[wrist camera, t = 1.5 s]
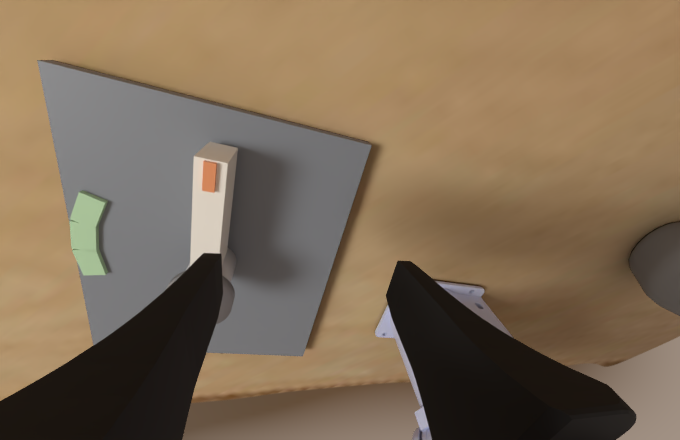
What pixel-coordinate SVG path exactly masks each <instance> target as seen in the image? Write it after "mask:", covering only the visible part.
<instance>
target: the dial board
mask: <svg viewBox="0 0 680 440" xmlns="http://www.w3.org/2000/svg"><path fill="white" fill-rule="evenodd" d="M37 61H38V66H39V71H40V76H41V81H42V86H43V91H44V96H45V101H46V106H47V111H48V116H49V121H50V127H51V132H52V137H53V142H54V147H55V152H56V157H57V162H58V167H59V172H60V177H61V182H62V187H63V193H64V198H65V203H66V208H67V213H68V218H69V223H70V234H71V248H72V249H73V250H72V251H73V254H74V256H75V258H76V260H77V264H78V269H79V274H80V279H81V284H82V289H83V294H84V299H85V304H86V309H87V314H88V319H89V324H90V330H91V335H92V340H93V345H95V344H97V343H98V342H100V341H101V340H103V339H104V338H106V337H107V336H108V335H110V334H111V333H113V332H114V331H115V330H117V329H118V328H119V327H121V326H122V325H124V324H125V323H126V322H127V321H129V320H130V319H131V318H133V317H134V316H135V315H136V314H138V313H139V312H140V311H141V310H143V309H144V308H145V307H146V306H147V305H149V304H150V303H151V302H152V301H153V300H155V299H156V298H157V297H158V296H159V295H160V294H162V293H163V292H164V291H165V290H166V288H167V286H168V284H169V283H170V281H171V280H172V278H173V277H175V276H176V275H177V274H179V273H181V272H183V271H186V269H187V267H188V265H189V263H190V251H191V221H192V191H193V161H194V155H195V154H197V153H198V152H199V151H200V150H201V149H202V148H203V147H204V146H205V145H206V144H208V143H209V142H214V143H218V144H223V145H227V146H232V147H236V148H238V153H237V163H236V172H235V181H234V191H233V200H232V210H231V219H230V228H229V238H228V248H229V249H230V250H232V252H233V253H234V254H235V256H236V266H235V270H234V273H233V276H232V280H231V284H232V286H233V287H234V291H235V298H234V302H233V306H232V309H231V312H230V314H229V316H228V317H227V318H226V319H225V320H224V321H222V322H220V323H218V324H216V326H215V329H214V332H213V335H212V338H211V340H210V343H209V346H208V349H207V353H233V354H258V355H284V356H303V354H304V351H305V348H306V345H307V342H308V339H309V336H310V333H311V330H312V327H313V324H314V321H315V317H316V314H317V311H318V308H319V305H320V302H321V299H322V296H323V293H324V290H325V287H326V284H327V281H328V278H329V275H330V271H331V268H332V265H333V262H334V259H335V256H336V253H337V250H338V247H339V244H340V241H341V238H342V235H343V232H344V229H345V225H346V222H347V219H348V216H349V213H350V210H351V207H352V204H353V201H354V198H355V195H356V192H357V189H358V186H359V183H360V180H361V176H362V173H363V170H364V167H365V164H366V161H367V158H368V155H369V152H370V149H371V146H372V145H371V144H370V143H369V142H367V141H363V140H359V139H355V138H351V137H347V136H343V135H340V134H336V133H332V132H328V131H324V130H320V129H316V128H312V127H309V126H305V125H301V124H297V123H293V122H289V121H285V120H282V119H278V118H274V117H270V116H266V115H262V114H258V113H254V112H251V111H247V110H243V109H239V108H235V107H231V106H227V105H224V104H220V103H216V102H212V101H208V100H204V99H200V98H196V97H193V96H189V95H185V94H181V93H177V92H173V91H169V90H165V89H162V88H158V87H154V86H150V85H146V84H142V83H138V82H135V81H131V80H127V79H123V78H119V77H115V76H111V75H107V74H104V73H100V72H96V71H92V70H88V69H84V68H80V67H77V66H73V65H69V64H65V63H61V62H57V61H53V60H37Z"/></svg>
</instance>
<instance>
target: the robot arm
mask: <svg viewBox="0 0 680 440" xmlns="http://www.w3.org/2000/svg"><path fill="white" fill-rule="evenodd" d="M483 294H484V289H483V288H482V287H480V286H472V285H464V284H456V283H449V282H441V281H434V280H433V279H432V278H431V277H429V276H428V275H427V274H426V273H425V272H424V271H422V270H421V269H420V268H419V267H417V266H416V265H415V264H414V263H412V262H411V261H398V262H397V265H396V267H395V270H394V273H393V276H392V279H391V282H390V285H389V288H388V291H387V294H386V298H387V302H388V305H387V307H386V310H385V312H384V314H383V316H382V318H381V320H380V322H379V324H378V326H377V328H376V330H375V334H376V336H377V337H386V338H395V340H396V343H397V345H398V348H399V351H400V353H401V356H402V359H403V362H404V364H405V367H406V370H407V372H408V375H409V378H410V380H411V383H412V385H413V389H414V391H415V394H416V397H417V399H418V402H419V405H420V407H421V408H420V409H419V410H417V411H416V412H415V415H416V418H417V421H418V424H419V428H417V429H416V430H415V431H414V433H413V438H412V440H616V439H617V438H619V437H620V436H621V435H623V434H624V433H625V432H626V431H628V430H629V429H630V428H631V427H632V426H633V425H634V423H635V421H636V414H635V412H634V411H633V410H632V409H631V408H630V407H629V406H628V405H627V404H626V403H625V402H624V401H623V400H622V399H621V398H620V397H619V396H618V395H617V394H616V393H615V392H614V391H613V389H612V388H610V387H609V386H608V385H607V384H604V383H602V382H600V381H598V380H595V379H593V378H591V377H588V376H587V375H584V374H582V373H580V372H577V371H575V370H573V369H571V368H568V367H567V366H565V365H562V364H561V363H559V362H557V361H555V360H553V359H551V358H549V357H547V356H545V355H543V354H541V353H539V352H537V351H535V350H533V349H532V348H530V347H528V346H526V345H524V344H523V343H521V342H519V341H518V340H516V339H514V338H513V336H512V335H511V334H510V333H509V331H508V330H507V329H506V328H505V326H504V325H503V324H502V323H501V321H500V320H499V319H498V318H497V317H496V315H495V314H494V313H493V312H492V310H491V309H490V308H489V307H488V305H487V304H486V303H485V302H484V300H483V299H482V298H481V296H482V295H483ZM222 297H223V278H222V255H221V254H218V253H203V254H202V255H201V256H200V257H199V258H198V259H197V260H196V261H195V262H194V263H193V264H192V265H191V266H190V267H189V268H188V269H187V270H186V271H185V272H184V273H183V274H182V275H181V276H180V277H179V278H178V279H177V280H176V281H175V282H173V283H172V284H171V285H170V286H169V287H168V288H167V289H166V290H165V291H164V292H163V293H162V294H160V295H159V296H158V297H157V298H156V299H155V300H153V301H152V302H151V303H150V304H149V305H147V306H146V307H145V308H144V309H143V310H141V311H140V312H139V313H138V314H136V315H135V316H134V317H133V318H131V319H130V320H129V321H127V322H126V323H125V324H124V325H122V326H121V327H119V328H118V329H117V330H115V331H114V332H113V333H111V334H110V335H108V336H107V337H106V338H104V339H103V340H101V341H100V342H98V343H97V344H95V345H94V346H92V347H91V348H89V349H87V350H86V351H84V352H83V353H81V354H80V355H78V356H77V357H75V358H74V359H72V360H71V361H69V362H67V363H66V364H64V365H63V366H61V367H59V368H58V369H56V370H54V371H52V372H51V373H49V374H47V375H46V376H44V377H42V378H41V379H39V380H37V381H35V382H34V383H32V384H30V385H28V386H27V387H25V388H23V389H21V390H20V391H18V392H16V393H14V394H13V395H11V396H9V397H7V398H5V399H3V400H2V401H0V440H182V437H183V433H184V429H185V425H186V421H187V416H188V412H189V408H190V404H191V400H192V396H193V392H194V388H195V385H196V382H197V378H198V375H199V372H200V369H201V367H202V364H203V361H204V358H205V355H206V352H207V349H208V346H209V343H210V340H211V338H212V335H213V332H214V329H215V326H216V323H217V320H218V316H219V311H220V307H221V302H222Z"/></svg>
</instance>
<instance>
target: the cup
mask: <svg viewBox="0 0 680 440" xmlns="http://www.w3.org/2000/svg"><path fill="white" fill-rule="evenodd" d="M629 265H630V269H631V271H632V273H633V274H634V276H635V278H636V279H637V281H638V282H639V284H640V286H641V287H642V289H643V291H644V292H645V293H646V295H647V296H648V297H649V298H651V299H652V300H653V301H654V302H655V303H657V304H658V305H659V306H661V307H663V308H665V309H667V310H669V311H671V312H673V313H675V314H677V315H679V316H680V222H676V223H670V224H667V225H664V226H662V227H660V228H657V229H656V230H654V231H653V232H651V233H650V234H648V235H647V236H645V237H644V238H643V239H642V240H641V241H640V242H639V243H638V244H637V246H636V247H635V248H634V250H633V251H632V253H631V256H630V258H629Z"/></svg>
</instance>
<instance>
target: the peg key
mask: <svg viewBox="0 0 680 440" xmlns="http://www.w3.org/2000/svg"><path fill="white" fill-rule="evenodd" d="M237 153H238V148H236V147H232V146H227V145H223V144H218V143H214V142H209V143H208V144H206V145H205V146H204V147H203V148H202V149H201V150H200V151H199V152H198V153H197V154H195V155H194V161H193V191H192V221H191V251H190V263H189V265H188V267H187V269H188V268H189V267H190V266H191V265H192V264H193V263H194V262H195V261H196V260H197V259H198V258H199V257H200V256H201V255H202V254H203V253H218V254H221V255H222V278H223V297H222V302H221V307H220V311H219V316H218V320H217V323H216V324H218V323H220V322H222V321H224V320H225V319H226V318H227V317H228V316H229V314H230V312H231V309H232V306H233V302H234V298H235V291H234V287H233V286H232V284H231V280H232V276H233V273H234V270H235V266H236V256H235V254H234V253H233V252H232V250H230V249H229V248H228V238H229V228H230V219H231V210H232V200H233V191H234V181H235V172H236V163H237ZM187 269H186V270H187ZM184 272H185V271H183V272H181V273H179V274H177V275H176V276H175V277H173V278H172V280H171V281H170V283H169V284H168V286H167V288H168V287H169V286H170V285H171V284H172V283H173V282H175V281H176V280H177V279H178V278H179V277H180V276H181V275H182V274H183V273H184ZM167 288H166V289H167Z"/></svg>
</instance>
